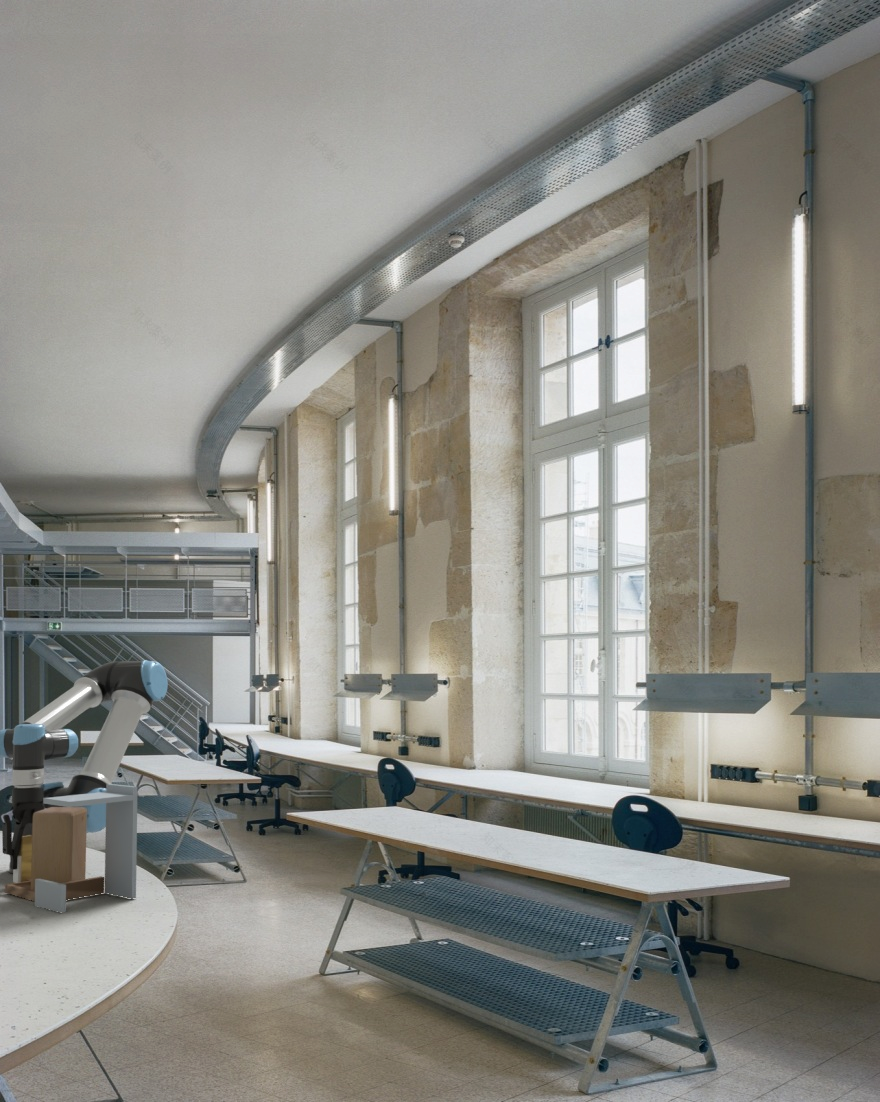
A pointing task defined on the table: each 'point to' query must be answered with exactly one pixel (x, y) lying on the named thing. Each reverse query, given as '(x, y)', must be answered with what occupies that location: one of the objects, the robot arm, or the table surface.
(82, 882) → the pull yoke
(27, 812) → the robot arm
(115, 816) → the shelf
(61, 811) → the wooden block
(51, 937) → the table surface
